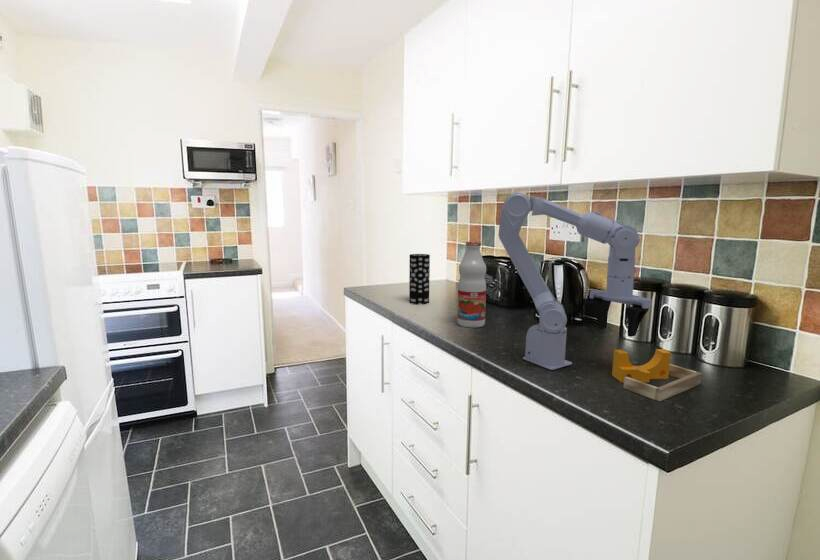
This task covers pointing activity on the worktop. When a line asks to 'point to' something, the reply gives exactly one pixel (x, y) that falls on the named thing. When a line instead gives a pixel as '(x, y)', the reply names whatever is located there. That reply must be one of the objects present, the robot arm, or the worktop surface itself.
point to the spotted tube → (419, 278)
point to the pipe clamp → (643, 373)
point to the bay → (661, 393)
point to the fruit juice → (472, 288)
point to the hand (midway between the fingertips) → (616, 332)
